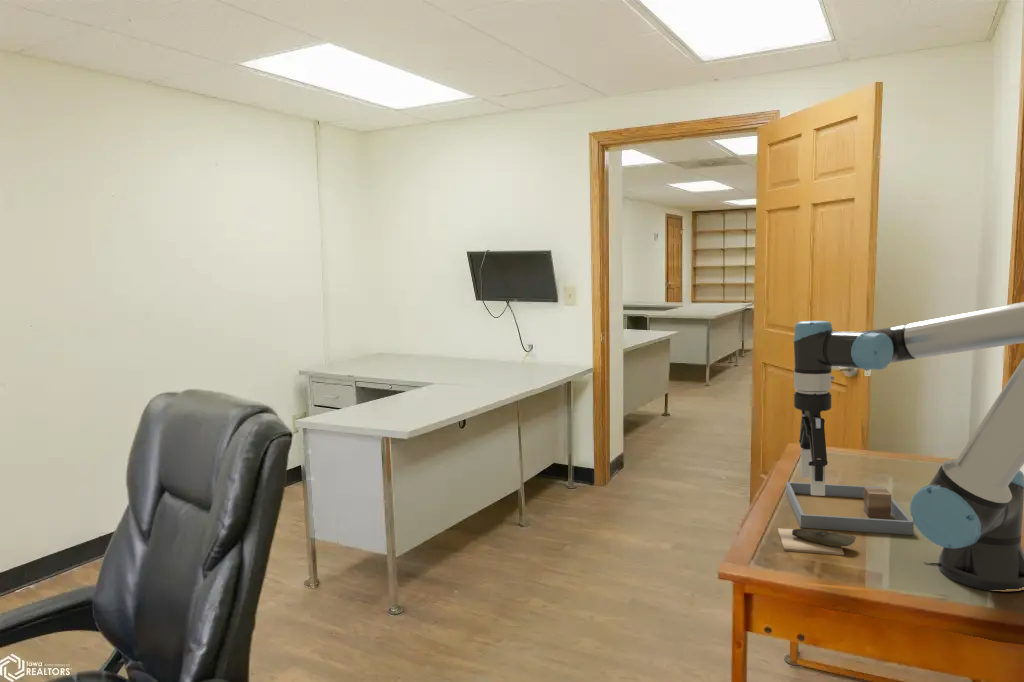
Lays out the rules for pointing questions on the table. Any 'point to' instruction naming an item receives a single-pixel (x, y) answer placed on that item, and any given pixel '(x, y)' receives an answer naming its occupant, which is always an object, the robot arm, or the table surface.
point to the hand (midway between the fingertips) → (812, 485)
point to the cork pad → (805, 544)
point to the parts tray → (848, 523)
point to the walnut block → (877, 502)
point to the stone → (824, 537)
